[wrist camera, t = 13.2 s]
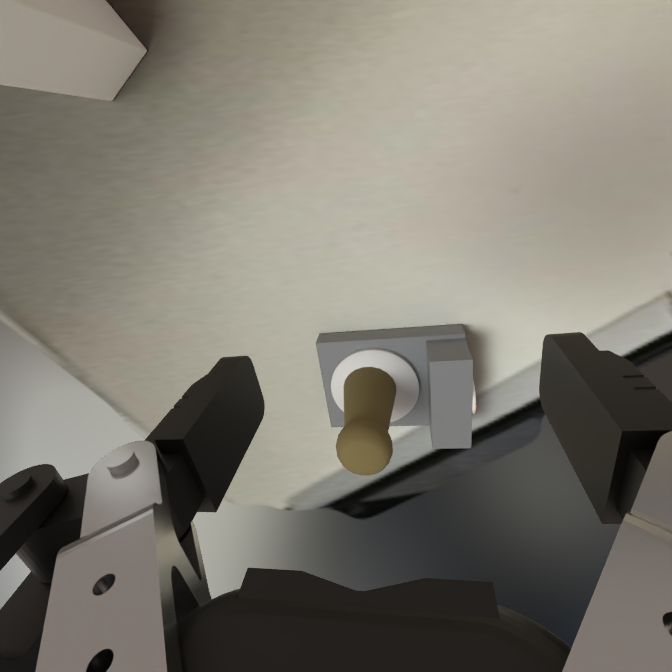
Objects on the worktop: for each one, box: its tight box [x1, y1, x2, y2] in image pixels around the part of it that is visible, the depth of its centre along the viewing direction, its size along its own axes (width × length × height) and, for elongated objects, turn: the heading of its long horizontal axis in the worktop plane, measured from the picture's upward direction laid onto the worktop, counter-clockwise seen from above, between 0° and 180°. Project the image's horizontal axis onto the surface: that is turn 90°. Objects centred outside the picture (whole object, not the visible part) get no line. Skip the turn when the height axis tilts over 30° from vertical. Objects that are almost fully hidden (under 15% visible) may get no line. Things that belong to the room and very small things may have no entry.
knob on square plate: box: [316, 324, 477, 448], centre depth 42 cm, size 16×12×7 cm
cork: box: [336, 367, 396, 475], centre depth 38 cm, size 6×6×11 cm
